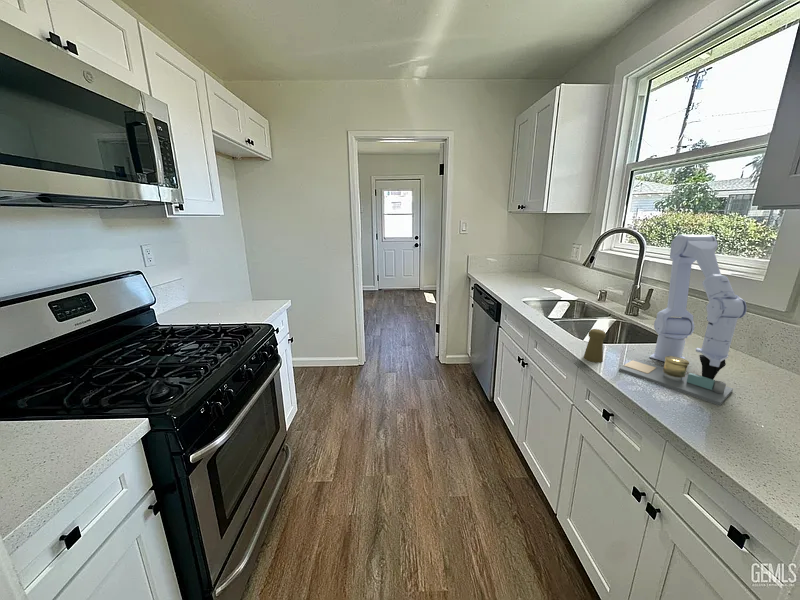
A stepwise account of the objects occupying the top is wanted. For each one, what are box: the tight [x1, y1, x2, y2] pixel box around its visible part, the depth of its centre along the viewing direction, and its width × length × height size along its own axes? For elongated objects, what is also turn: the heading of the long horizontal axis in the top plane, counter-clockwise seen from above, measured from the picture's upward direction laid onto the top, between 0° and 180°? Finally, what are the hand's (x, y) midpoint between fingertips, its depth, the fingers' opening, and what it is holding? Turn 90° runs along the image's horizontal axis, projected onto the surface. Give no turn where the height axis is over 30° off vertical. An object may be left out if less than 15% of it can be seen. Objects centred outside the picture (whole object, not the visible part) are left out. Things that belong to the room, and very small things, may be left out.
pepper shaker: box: [583, 328, 607, 364], centre depth 117 cm, size 6×6×11 cm
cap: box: [663, 356, 690, 377], centre depth 102 cm, size 6×6×4 cm
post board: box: [618, 358, 734, 406], centre depth 103 cm, size 13×25×2 cm, turn 35°
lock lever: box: [687, 372, 727, 393], centre depth 97 cm, size 8×2×3 cm, turn 35°
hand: (706, 380), depth 99 cm, fingers closed
